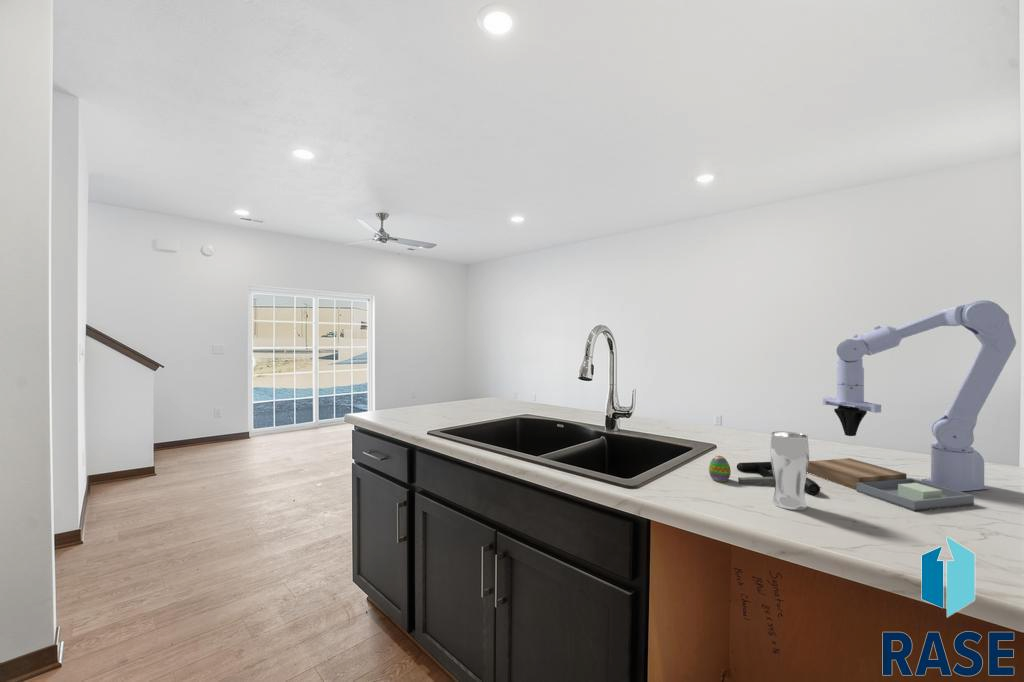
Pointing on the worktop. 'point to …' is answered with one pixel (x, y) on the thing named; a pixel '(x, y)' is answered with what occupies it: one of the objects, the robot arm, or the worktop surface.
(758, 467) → the door handle
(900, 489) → the block
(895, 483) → the tray
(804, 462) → the beer glass
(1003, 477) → the worktop surface
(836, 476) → the wooden cutting board
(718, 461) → the egg
